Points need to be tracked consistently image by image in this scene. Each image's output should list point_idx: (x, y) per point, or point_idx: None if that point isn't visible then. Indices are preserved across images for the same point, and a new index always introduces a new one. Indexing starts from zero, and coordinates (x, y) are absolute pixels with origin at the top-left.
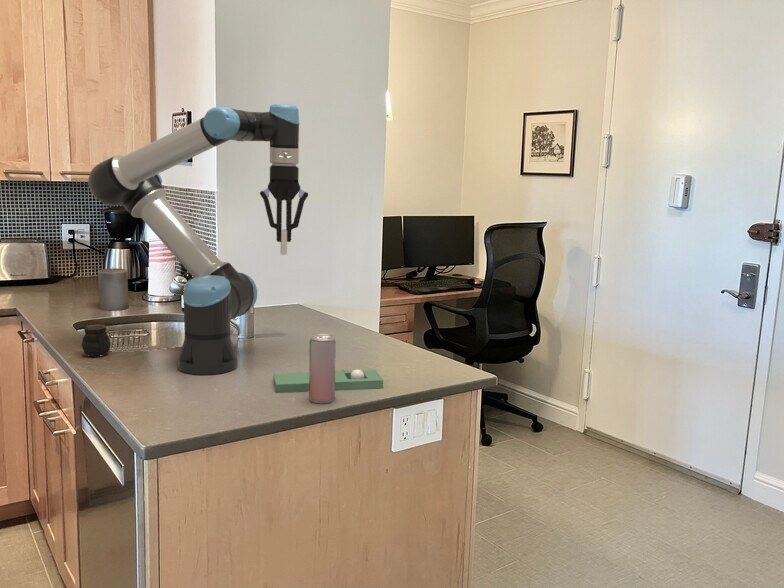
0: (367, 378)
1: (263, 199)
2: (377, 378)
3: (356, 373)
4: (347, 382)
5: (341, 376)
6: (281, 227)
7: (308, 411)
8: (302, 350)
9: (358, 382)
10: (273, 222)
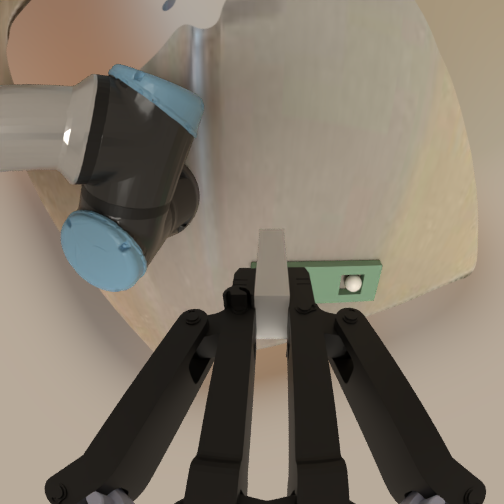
0: (360, 294)
1: (91, 463)
2: (370, 294)
3: (351, 291)
4: (334, 301)
5: (334, 286)
6: (255, 349)
7: (281, 340)
8: (307, 110)
9: (346, 301)
10: (205, 369)
